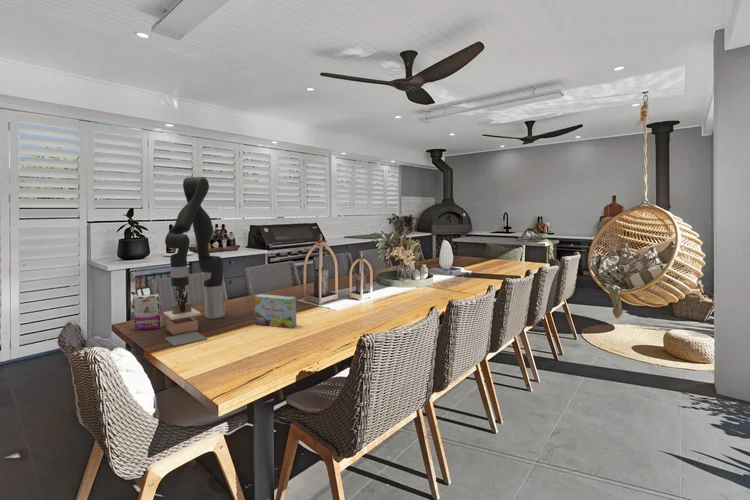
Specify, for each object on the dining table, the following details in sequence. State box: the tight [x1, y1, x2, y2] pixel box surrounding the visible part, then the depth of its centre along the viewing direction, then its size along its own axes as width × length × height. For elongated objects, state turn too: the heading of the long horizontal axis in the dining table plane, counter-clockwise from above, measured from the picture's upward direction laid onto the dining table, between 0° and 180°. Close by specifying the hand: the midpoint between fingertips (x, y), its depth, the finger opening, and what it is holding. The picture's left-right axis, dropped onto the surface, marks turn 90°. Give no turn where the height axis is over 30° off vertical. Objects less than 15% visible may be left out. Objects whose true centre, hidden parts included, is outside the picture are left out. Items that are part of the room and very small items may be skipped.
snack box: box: [253, 293, 297, 330], centre depth 207 cm, size 21×6×15 cm, turn 71°
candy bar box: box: [132, 293, 163, 331], centre depth 202 cm, size 11×5×16 cm, turn 105°
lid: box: [162, 301, 201, 320], centre depth 198 cm, size 13×13×5 cm
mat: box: [164, 331, 208, 348], centre depth 185 cm, size 14×14×1 cm
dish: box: [165, 316, 199, 336], centre depth 198 cm, size 11×11×5 cm
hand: (181, 310), depth 198 cm, fingers closed on lid, 3 cm apart
